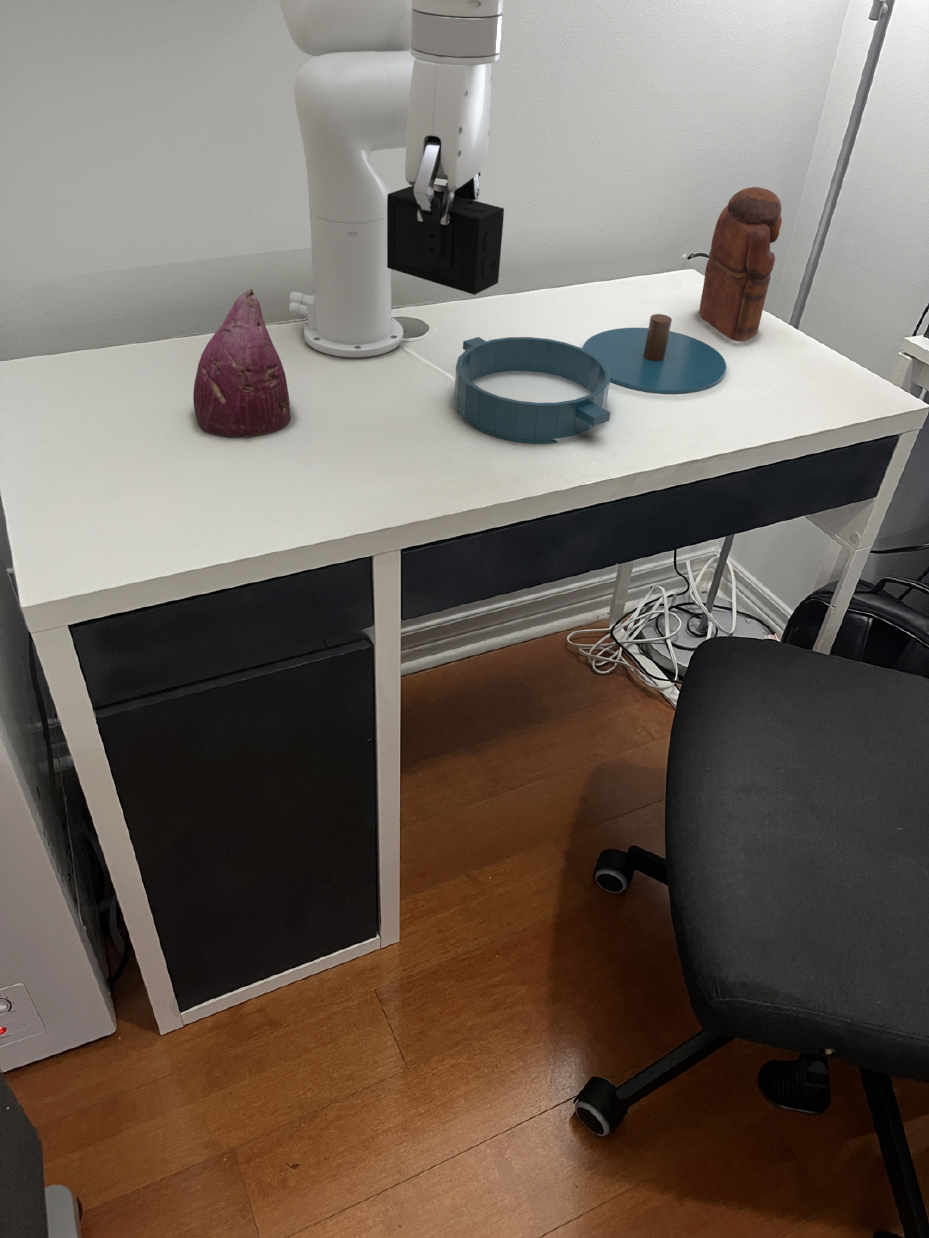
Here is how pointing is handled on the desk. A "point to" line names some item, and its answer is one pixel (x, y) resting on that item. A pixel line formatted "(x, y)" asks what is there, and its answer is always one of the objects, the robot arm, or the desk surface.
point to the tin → (530, 417)
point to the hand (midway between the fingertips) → (447, 252)
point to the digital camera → (471, 242)
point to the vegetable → (241, 377)
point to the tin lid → (657, 358)
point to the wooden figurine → (741, 263)
